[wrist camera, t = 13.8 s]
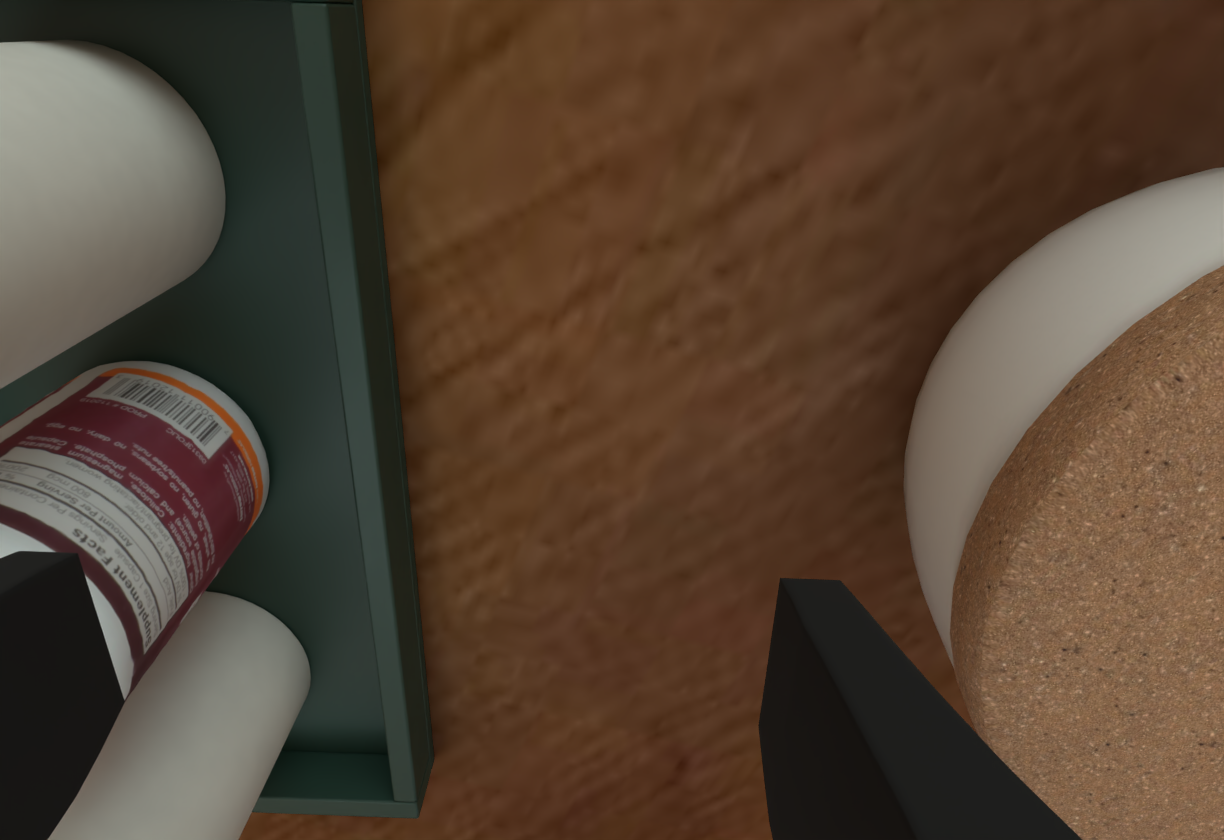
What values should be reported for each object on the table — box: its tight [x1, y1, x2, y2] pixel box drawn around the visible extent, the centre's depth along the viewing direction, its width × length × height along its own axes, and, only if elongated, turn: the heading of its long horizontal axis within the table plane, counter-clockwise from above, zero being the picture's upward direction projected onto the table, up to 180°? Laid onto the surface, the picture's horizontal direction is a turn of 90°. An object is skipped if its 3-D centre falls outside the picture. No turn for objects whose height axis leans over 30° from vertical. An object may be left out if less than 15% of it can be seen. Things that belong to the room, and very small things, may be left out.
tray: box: [0, 0, 434, 818], centre depth 18 cm, size 19×10×2 cm, turn 178°
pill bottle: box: [0, 361, 270, 701], centre depth 14 cm, size 5×5×8 cm
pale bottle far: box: [48, 591, 311, 840], centre depth 17 cm, size 5×5×8 cm
